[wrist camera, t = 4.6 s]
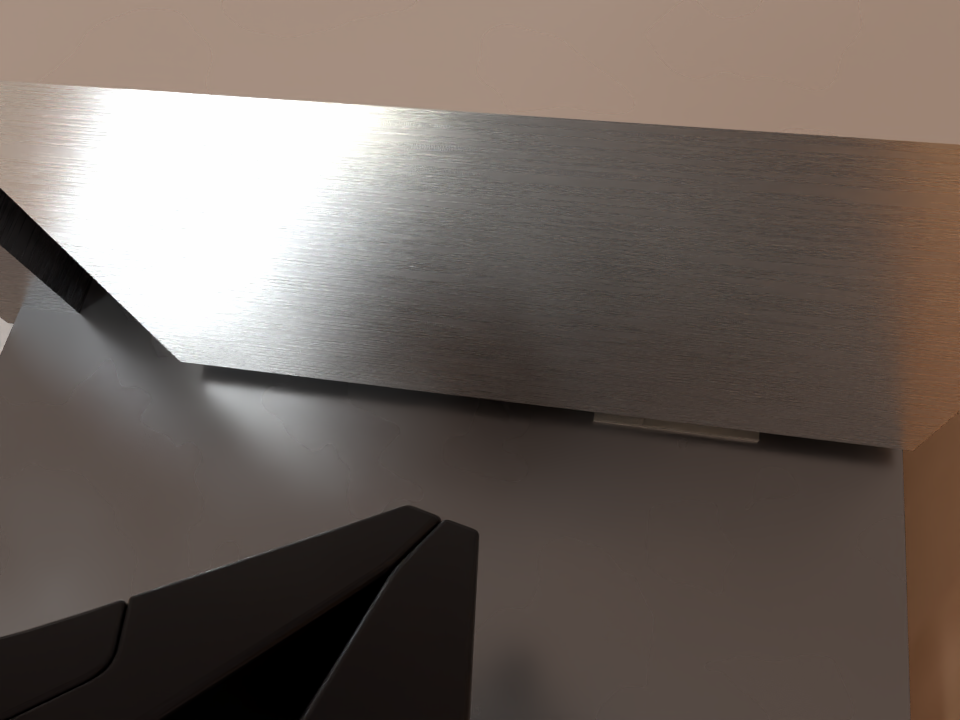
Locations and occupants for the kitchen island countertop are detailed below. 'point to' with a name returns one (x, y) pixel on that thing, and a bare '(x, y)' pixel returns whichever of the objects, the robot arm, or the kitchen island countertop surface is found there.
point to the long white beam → (518, 196)
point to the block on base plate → (455, 515)
